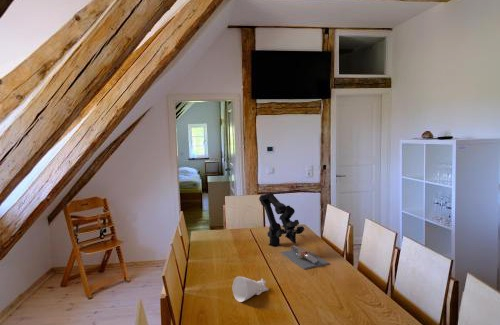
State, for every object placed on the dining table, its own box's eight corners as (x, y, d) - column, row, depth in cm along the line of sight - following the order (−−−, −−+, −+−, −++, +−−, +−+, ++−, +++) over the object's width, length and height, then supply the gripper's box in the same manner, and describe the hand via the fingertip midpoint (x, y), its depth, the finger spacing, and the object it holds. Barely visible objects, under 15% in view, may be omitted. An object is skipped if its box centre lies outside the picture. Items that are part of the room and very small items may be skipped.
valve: (289, 251, 216) (289, 244, 216) (297, 250, 218) (297, 243, 218) (311, 266, 192) (311, 258, 192) (320, 264, 195) (320, 256, 194)
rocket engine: (268, 269, 167) (241, 271, 156) (277, 290, 160) (250, 294, 149) (256, 281, 173) (229, 284, 161) (265, 302, 166) (237, 306, 154)
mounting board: (281, 253, 215) (281, 252, 215) (303, 249, 222) (304, 247, 222) (304, 269, 189) (304, 267, 189) (329, 264, 196) (329, 262, 196)
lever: (294, 253, 204) (304, 251, 194) (298, 253, 205) (308, 250, 195) (295, 257, 203) (305, 254, 193) (299, 256, 204) (308, 254, 194)
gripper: (278, 217, 204) (286, 239, 196) (303, 214, 212) (312, 235, 203) (272, 226, 212) (280, 247, 204) (296, 222, 220) (305, 243, 211)
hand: (295, 243), depth 205 cm, fingers closed
